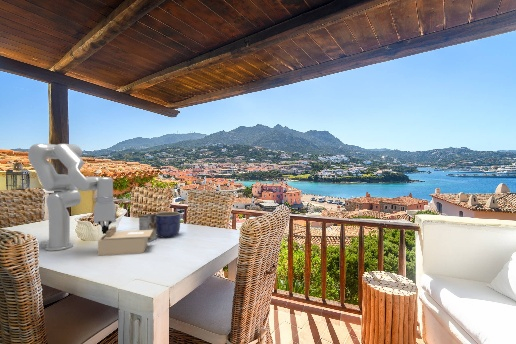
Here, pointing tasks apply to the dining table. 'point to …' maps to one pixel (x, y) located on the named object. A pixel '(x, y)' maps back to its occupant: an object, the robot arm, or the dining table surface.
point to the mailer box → (121, 246)
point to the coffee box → (148, 225)
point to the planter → (167, 224)
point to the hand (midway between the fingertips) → (105, 233)
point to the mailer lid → (127, 234)
